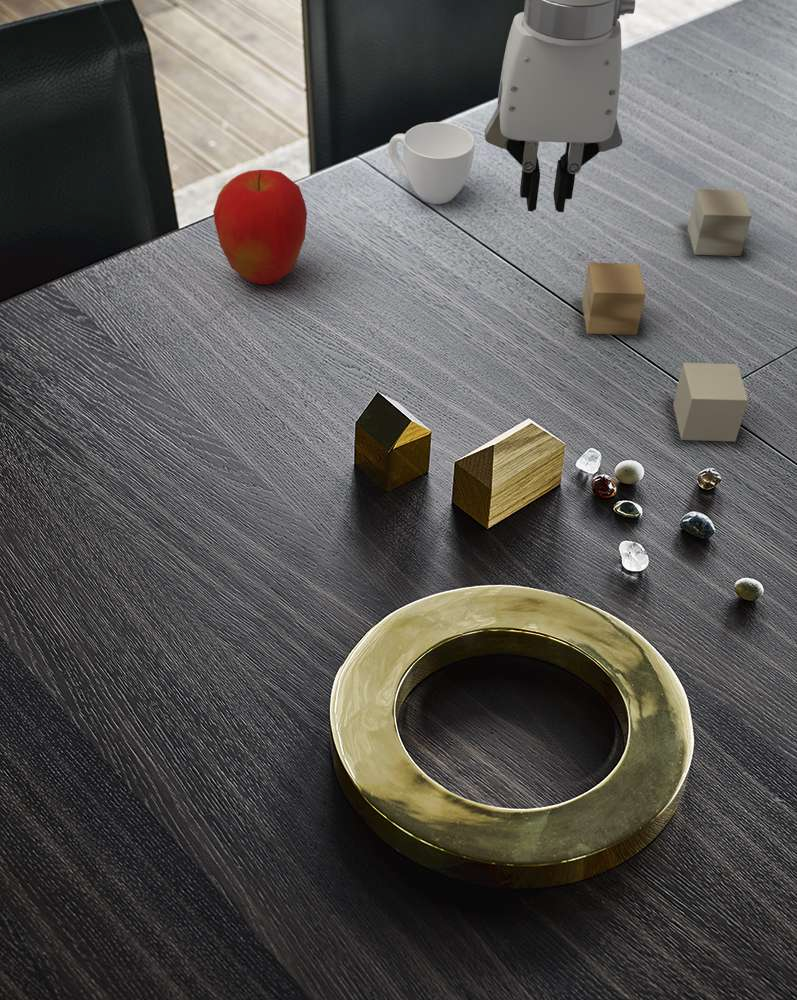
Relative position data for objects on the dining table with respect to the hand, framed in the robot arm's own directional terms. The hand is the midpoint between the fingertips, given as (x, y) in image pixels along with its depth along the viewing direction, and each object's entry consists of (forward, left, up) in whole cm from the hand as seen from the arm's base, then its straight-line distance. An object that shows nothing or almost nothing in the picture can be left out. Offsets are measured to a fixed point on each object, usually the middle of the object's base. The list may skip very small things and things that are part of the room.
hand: (544, 202), depth 116 cm
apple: (+27, -6, -13) cm, 31 cm away
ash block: (-21, -14, -13) cm, 29 cm away
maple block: (-8, 0, -13) cm, 15 cm away
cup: (+10, -23, -13) cm, 28 cm away
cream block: (-15, +15, -13) cm, 25 cm away
